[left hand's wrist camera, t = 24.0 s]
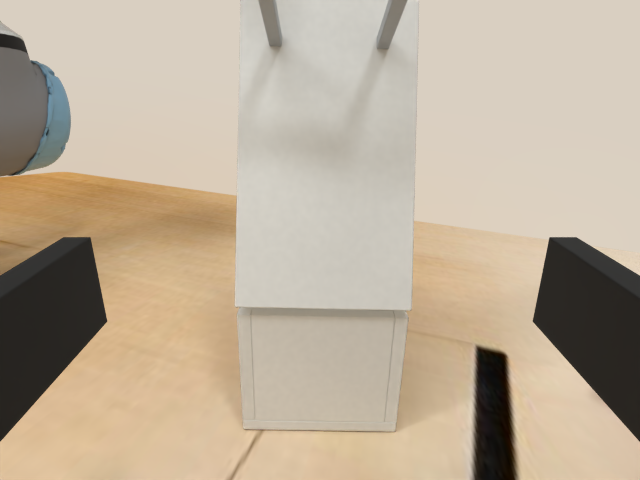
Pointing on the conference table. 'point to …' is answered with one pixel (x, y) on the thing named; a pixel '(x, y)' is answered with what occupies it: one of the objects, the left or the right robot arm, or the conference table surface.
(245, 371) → the chest
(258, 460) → the conference table surface
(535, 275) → the conference table surface
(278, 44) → the lid
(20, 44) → the right robot arm
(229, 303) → the conference table surface
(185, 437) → the conference table surface
